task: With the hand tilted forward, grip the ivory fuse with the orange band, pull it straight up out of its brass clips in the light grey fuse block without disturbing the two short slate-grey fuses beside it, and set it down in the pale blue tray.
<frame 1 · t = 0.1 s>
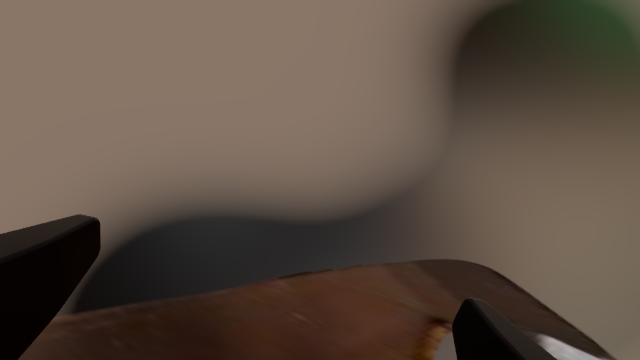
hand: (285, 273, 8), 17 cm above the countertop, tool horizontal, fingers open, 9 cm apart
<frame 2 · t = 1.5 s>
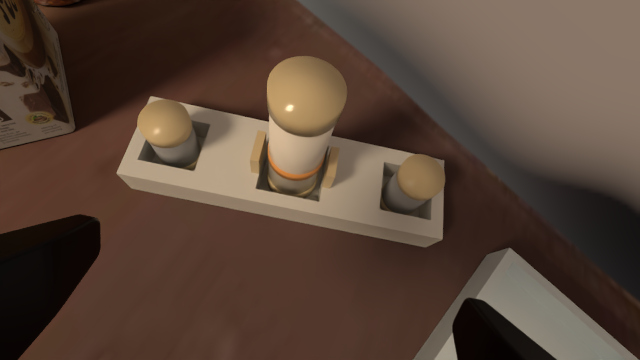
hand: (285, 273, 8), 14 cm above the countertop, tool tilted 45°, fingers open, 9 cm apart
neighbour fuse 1: (396, 200, 24), point 1 cm above the countertop, touching fuse block
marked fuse: (291, 178, 24), resting on fuse block
coffee box: (21, 91, 24), on the countertop
fuse block: (291, 181, 24), on the countertop
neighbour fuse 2: (182, 155, 23), point 1 cm above the countertop, touching fuse block
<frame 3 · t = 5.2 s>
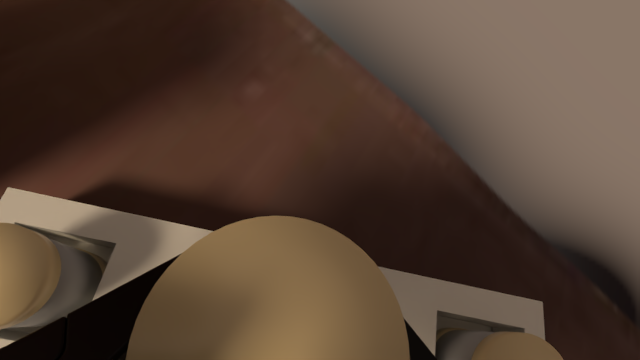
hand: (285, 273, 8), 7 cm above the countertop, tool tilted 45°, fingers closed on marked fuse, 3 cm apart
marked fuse: (269, 327, 13), point 1 cm above the countertop, touching fuse block, gripper
fuse block: (269, 326, 14), on the countertop
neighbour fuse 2: (73, 287, 13), point 1 cm above the countertop, touching fuse block
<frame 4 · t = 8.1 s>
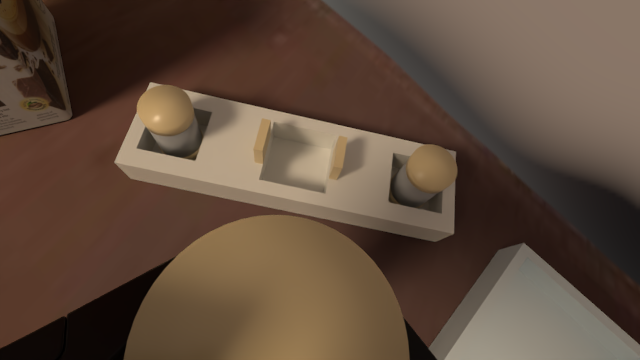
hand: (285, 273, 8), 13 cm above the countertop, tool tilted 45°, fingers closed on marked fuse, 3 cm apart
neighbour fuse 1: (405, 192, 23), point 1 cm above the countertop, touching fuse block
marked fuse: (269, 327, 13), point 7 cm above the countertop, touching gripper
coffee box: (16, 76, 23), on the countertop
fuse block: (296, 172, 23), on the countertop
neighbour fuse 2: (183, 144, 22), point 1 cm above the countertop, touching fuse block
when the fingers open (8 cm above the countertop, at t = 10.8 s): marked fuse drops 1 cm, resting on tray.
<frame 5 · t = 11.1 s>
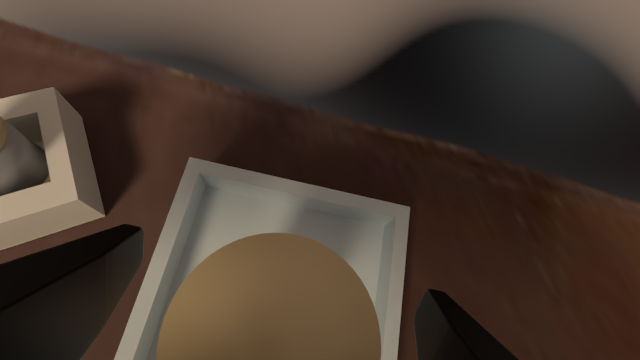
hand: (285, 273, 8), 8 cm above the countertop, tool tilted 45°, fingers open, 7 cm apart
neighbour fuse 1: (28, 176, 16), point 1 cm above the countertop, touching fuse block
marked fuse: (270, 326, 14), point 1 cm above the countertop, touching tray
tray: (269, 325, 15), on the countertop
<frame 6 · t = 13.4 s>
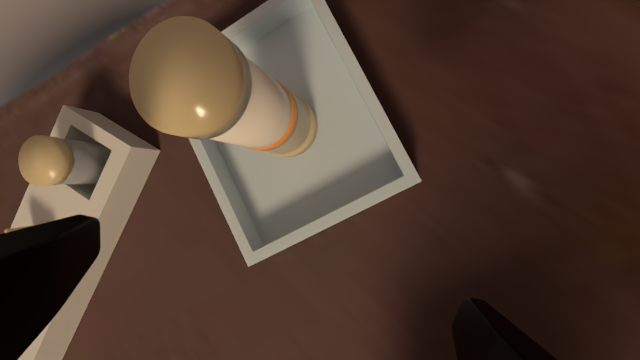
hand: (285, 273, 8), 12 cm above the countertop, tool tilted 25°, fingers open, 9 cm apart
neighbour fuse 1: (107, 163, 23), point 1 cm above the countertop, touching fuse block
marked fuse: (288, 127, 20), point 1 cm above the countertop, touching tray
fuse block: (70, 258, 24), on the countertop
tray: (292, 129, 20), on the countertop
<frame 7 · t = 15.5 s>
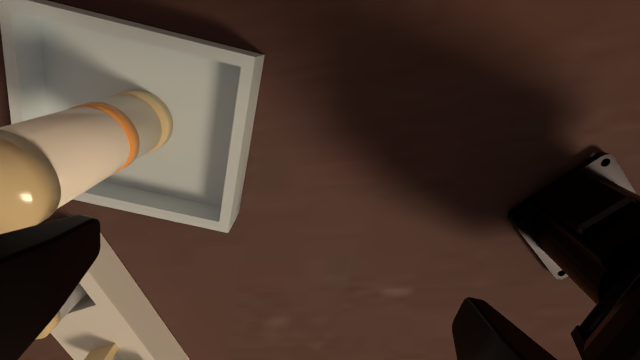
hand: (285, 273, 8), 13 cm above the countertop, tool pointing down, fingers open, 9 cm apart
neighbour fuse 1: (80, 272, 24), point 1 cm above the countertop, touching fuse block
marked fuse: (143, 120, 20), point 1 cm above the countertop, touching tray
fuse block: (140, 342, 27), on the countertop
tray: (150, 117, 20), on the countertop
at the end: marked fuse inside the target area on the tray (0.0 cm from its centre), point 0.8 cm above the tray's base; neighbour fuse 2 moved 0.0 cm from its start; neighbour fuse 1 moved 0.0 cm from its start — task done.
